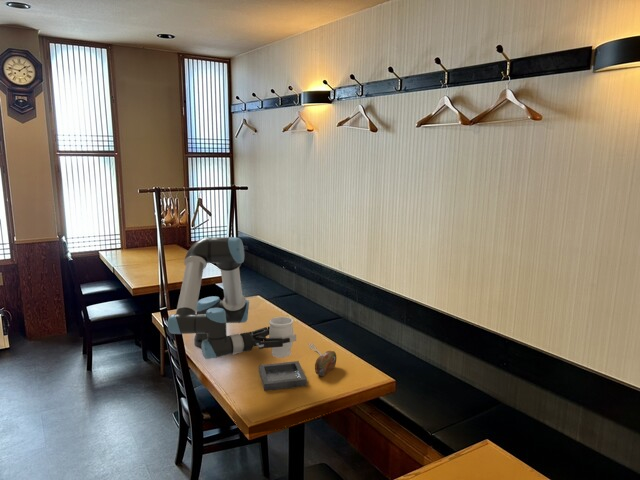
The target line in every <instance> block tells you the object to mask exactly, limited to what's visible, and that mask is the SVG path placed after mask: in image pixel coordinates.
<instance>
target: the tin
mask: <svg viewBox="0 0 640 480" xmlns="http://www.w3.org/2000/svg"><path fill="white" fill-rule="evenodd" d="M336 363H337V354H336V351H335V350H334V351H332V350H326V351H325V352H324V353H323V354H322V355H321V356H320V355H319V356H318V357H317V359H316V361H315V364H314V370H315V374H316V375H318V376H321V377H324V376H325V375H327V374H328V373H330V372H331V371H333V369H334V368H335V366H336Z"/></svg>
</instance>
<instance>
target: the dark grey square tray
mask: <svg viewBox="0 0 640 480" xmlns="http://www.w3.org/2000/svg"><path fill="white" fill-rule="evenodd" d="M258 373H259V376H260V377H259V378H260V380H261V384H262V388H263V391H264V392H269V391H276V390H285V389H291V388H292V389H294V388H301V387H308V379H307V376H306V374H305V372H304V369H303V368H302V366H301V364H300V362H299V360H296V361H295V360H294V361H286V362H278V363H276V362H275V363H268V364H258Z"/></svg>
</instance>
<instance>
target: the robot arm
mask: <svg viewBox="0 0 640 480" xmlns="http://www.w3.org/2000/svg"><path fill="white" fill-rule="evenodd" d="M244 261H245V246H244V243H243V240H242V239H241V238H240V237H233V236H228V237H227V236H226V237H224V236H223V237H222V236H221V237H220V236H218V237H215V236H212V237H210V236H209V237H208V236H207V237H203V238H201V239H198V240H197V241H196V242H195V243H193V244H192V245H191V247H190V248H189V249H188V251H187V252H186V254H185V256H184V260H183V263H184V266H185V269H184V273H183V278H182V282H181V283H182V284H181V287H180V294H179V296H178V302H177V305H176V310H175V311H176V312H175V313H173V314H170V315H169V317H168V318H167V319H168V320H167V330H168V332H169V334H174V335H182V334H183V335H185V334H187V335H188V334H195V335H194V338H193V340H194V341H193V342H194V345H195V346H196V347H200V348H201V353H202V356H203V358H204V359H206V360H209V359H217V358H221V357H224V356H229V355H233V356H234V355H236V354H238V353H239V354H240V353H242V352H243V353H245V352H250V351H252V350H253V348H254V347H258V349H259V350H262V349H268V348H269V349H270V348H271V349H272V347H283V344H284V343H289V342H292V343H293V342H297V334H295V333H294V335H290V336H285V337H281V338H269V329H270V326H266V327H261V328H259V329H256V330H253V331H248V332H247V331H246V332H242V333H240V334H239V333H236V334H231V335H227V324H242V323H247V322H248V318H249V306H250V300H249V299H247V298H246V297H245V296H244V295H243V292H242V291H243V289H242V282H241V275H240V274H241V271H240V267H241V266H242V263H244ZM207 264H215V265H216V267H217V268H218V269H219V270H220V275H221V280H222V282H221V283H222V288H223V295H224V297H223V299H220V297H219V296H216V295H215V296H213V295H212V296H207V297H204V298H201V299H199V297H200V293H201V292H200V290H201V286H202V280H203V273H204V269H206V267H207Z"/></svg>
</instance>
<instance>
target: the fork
mask: <svg viewBox="0 0 640 480" xmlns="http://www.w3.org/2000/svg"><path fill="white" fill-rule="evenodd" d="M307 344H308V347H309V348H310V350H315V352H317V353H318V354H319V357H320V356H321V355H323V354H322V353H321V352H320V351H319V350H317V347H316V346H315V343H313V342H309V343H307Z"/></svg>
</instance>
